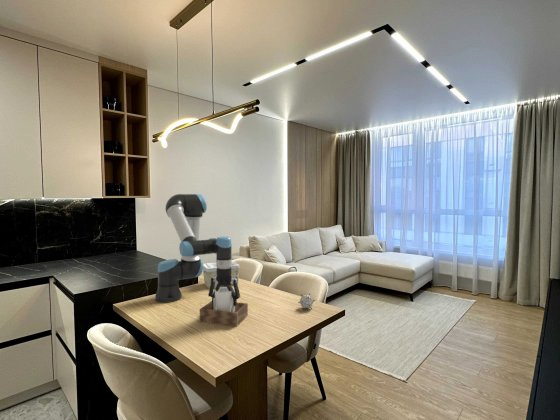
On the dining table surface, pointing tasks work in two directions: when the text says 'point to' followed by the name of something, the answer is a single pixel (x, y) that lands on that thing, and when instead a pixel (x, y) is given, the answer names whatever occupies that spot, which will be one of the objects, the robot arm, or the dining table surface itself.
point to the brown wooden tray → (224, 315)
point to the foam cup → (223, 299)
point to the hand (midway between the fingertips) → (224, 311)
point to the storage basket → (211, 271)
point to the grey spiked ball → (306, 301)
